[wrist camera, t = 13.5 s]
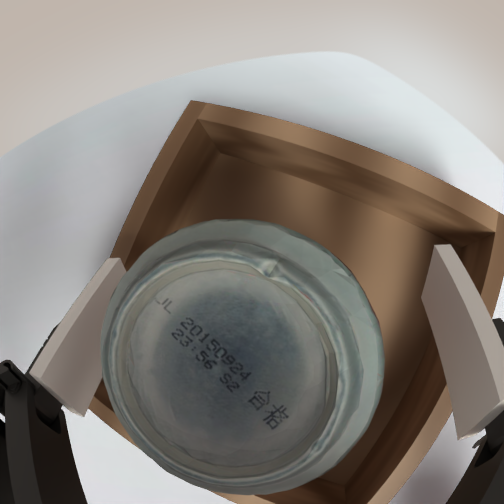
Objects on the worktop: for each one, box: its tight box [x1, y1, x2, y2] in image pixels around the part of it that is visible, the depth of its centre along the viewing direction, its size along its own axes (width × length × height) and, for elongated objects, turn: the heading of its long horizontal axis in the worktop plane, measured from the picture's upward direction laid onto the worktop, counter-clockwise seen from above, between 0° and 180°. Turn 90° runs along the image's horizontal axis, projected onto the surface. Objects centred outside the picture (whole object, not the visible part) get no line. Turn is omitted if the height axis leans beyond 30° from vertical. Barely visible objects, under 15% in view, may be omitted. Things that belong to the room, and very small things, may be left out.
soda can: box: [100, 219, 385, 495], centre depth 11 cm, size 7×7×12 cm
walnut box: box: [88, 100, 504, 504], centre depth 15 cm, size 20×20×6 cm
